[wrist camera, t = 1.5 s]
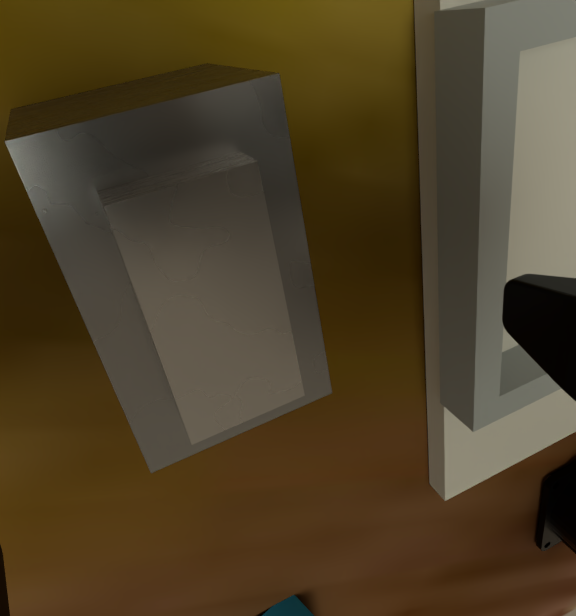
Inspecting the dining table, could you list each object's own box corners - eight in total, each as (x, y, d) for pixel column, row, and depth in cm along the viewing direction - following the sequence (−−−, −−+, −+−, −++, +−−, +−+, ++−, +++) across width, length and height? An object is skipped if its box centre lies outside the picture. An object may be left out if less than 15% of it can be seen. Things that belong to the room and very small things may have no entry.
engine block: (263, 313, 18) (351, 414, 13) (120, 368, 17) (159, 502, 12) (205, 63, 14) (301, 76, 9) (11, 108, 13) (2, 151, 8)
